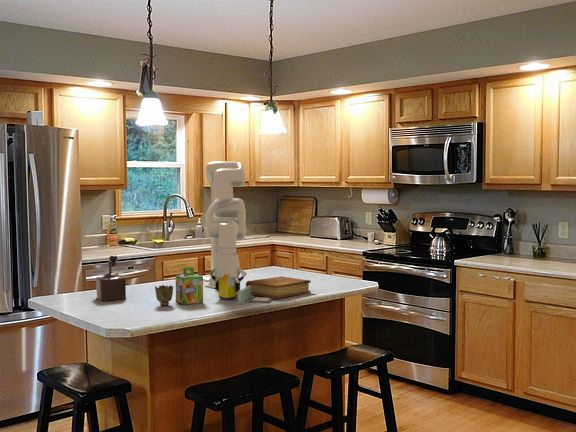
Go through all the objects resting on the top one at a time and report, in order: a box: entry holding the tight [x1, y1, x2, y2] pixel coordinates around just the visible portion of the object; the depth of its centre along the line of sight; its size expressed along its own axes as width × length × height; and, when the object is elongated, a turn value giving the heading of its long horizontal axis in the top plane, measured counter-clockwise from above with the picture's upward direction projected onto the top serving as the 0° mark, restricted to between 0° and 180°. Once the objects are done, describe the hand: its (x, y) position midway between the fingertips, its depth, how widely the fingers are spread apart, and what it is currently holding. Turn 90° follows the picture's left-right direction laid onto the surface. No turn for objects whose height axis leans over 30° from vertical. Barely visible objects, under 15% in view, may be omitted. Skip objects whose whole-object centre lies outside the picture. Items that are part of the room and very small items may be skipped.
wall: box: [235, 285, 254, 305], centre depth 275 cm, size 3×17×5 cm, turn 169°
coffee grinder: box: [95, 254, 127, 302], centre depth 281 cm, size 16×11×18 cm
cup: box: [154, 284, 174, 307], centre depth 264 cm, size 8×7×8 cm
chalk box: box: [175, 266, 204, 306], centre depth 270 cm, size 9×9×15 cm
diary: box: [245, 276, 311, 299], centre depth 290 cm, size 23×19×6 cm
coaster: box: [248, 296, 274, 304], centre depth 274 cm, size 9×9×1 cm
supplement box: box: [218, 274, 238, 301], centre depth 278 cm, size 6×6×11 cm
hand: (227, 290), depth 278 cm, fingers closed on supplement box, 8 cm apart
